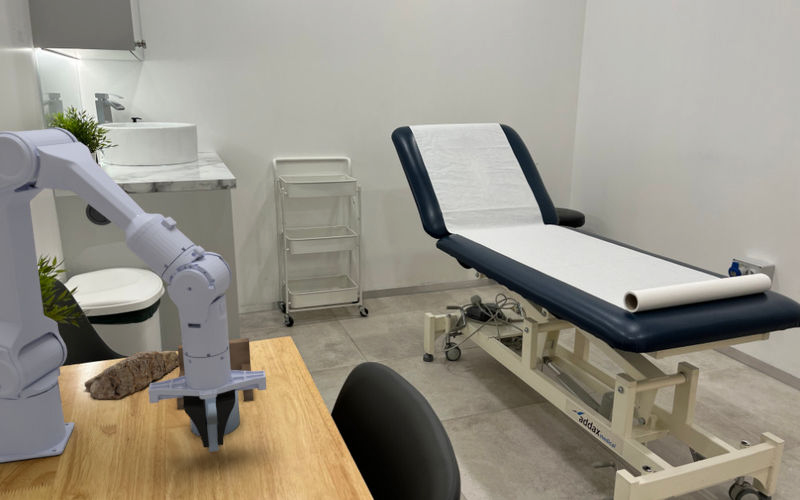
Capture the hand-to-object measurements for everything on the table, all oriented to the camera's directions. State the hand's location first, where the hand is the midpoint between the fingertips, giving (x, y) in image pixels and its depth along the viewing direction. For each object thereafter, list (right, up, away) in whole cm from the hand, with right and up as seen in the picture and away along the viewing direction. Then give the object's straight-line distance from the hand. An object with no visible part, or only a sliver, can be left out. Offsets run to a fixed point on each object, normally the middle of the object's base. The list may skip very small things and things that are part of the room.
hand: (213, 442), depth 81 cm
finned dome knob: (-2, -1, +6) cm, 6 cm away
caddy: (-5, +2, +19) cm, 20 cm away
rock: (-21, +3, +23) cm, 32 cm away
